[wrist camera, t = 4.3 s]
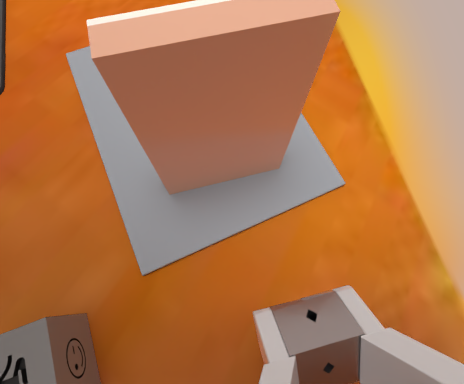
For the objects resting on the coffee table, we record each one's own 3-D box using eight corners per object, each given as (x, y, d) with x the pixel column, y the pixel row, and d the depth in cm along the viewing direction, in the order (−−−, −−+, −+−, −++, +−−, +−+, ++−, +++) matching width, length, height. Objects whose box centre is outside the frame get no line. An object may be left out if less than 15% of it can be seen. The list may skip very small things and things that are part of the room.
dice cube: (103, 391, 19) (62, 420, 14) (23, 424, 19) (-46, 467, 14) (87, 313, 21) (45, 317, 16) (13, 341, 20) (-53, 354, 15)
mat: (143, 275, 22) (142, 275, 21) (67, 57, 28) (65, 53, 28) (343, 185, 24) (345, 183, 24) (230, 4, 31) (230, 0, 30)
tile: (279, 168, 24) (340, 11, 11) (169, 194, 23) (91, 58, 10) (272, 149, 25) (322, -22, 11) (165, 174, 24) (86, 19, 11)
